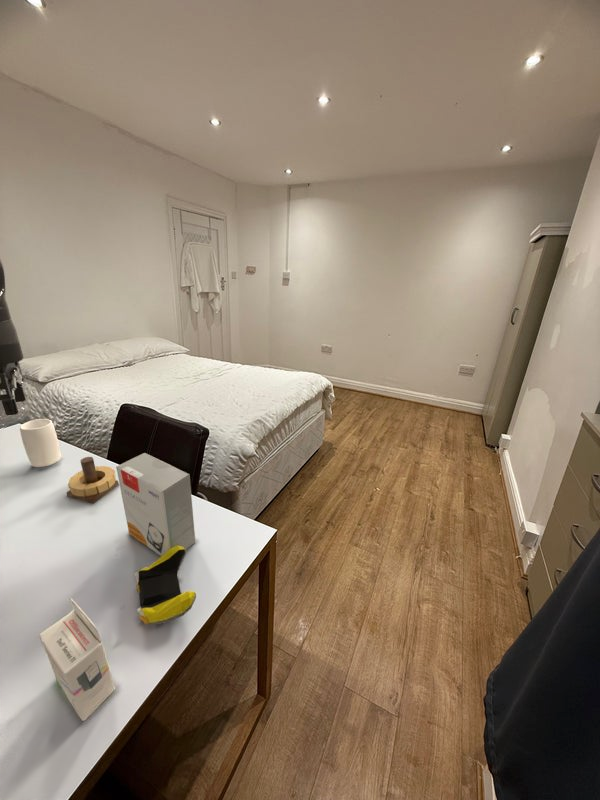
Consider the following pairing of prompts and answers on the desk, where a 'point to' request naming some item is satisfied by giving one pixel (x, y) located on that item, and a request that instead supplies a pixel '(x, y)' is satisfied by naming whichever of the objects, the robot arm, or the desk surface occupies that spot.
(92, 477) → the stand
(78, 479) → the ring
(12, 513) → the desk surface
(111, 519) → the desk surface
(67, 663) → the ink box
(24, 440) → the cup
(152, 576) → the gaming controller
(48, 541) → the desk surface
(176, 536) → the hard drive box
